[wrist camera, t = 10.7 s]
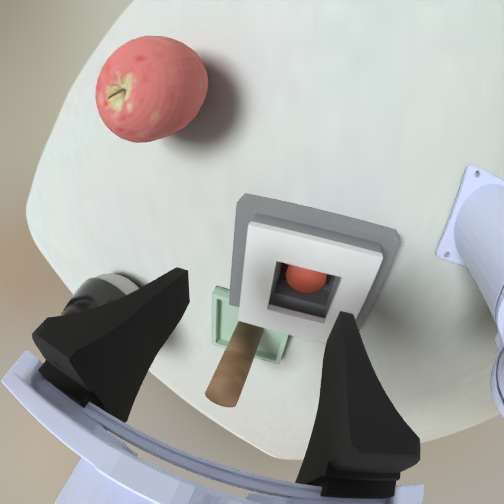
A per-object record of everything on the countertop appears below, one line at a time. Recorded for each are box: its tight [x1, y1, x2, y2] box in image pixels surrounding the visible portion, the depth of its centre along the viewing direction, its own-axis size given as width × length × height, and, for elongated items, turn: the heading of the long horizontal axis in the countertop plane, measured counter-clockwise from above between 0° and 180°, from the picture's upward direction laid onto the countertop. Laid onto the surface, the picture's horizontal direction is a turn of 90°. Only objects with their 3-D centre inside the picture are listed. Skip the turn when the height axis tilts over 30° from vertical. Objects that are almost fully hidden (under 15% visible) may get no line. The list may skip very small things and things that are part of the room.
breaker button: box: [286, 264, 327, 293], centre depth 22 cm, size 3×3×2 cm
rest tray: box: [212, 286, 289, 364], centre depth 28 cm, size 8×8×1 cm
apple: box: [96, 36, 208, 143], centre depth 15 cm, size 7×7×8 cm
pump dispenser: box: [61, 274, 139, 316], centre depth 26 cm, size 10×10×15 cm
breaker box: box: [229, 193, 401, 343], centre depth 21 cm, size 12×10×4 cm
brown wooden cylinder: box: [205, 321, 264, 407], centre depth 24 cm, size 3×3×9 cm
